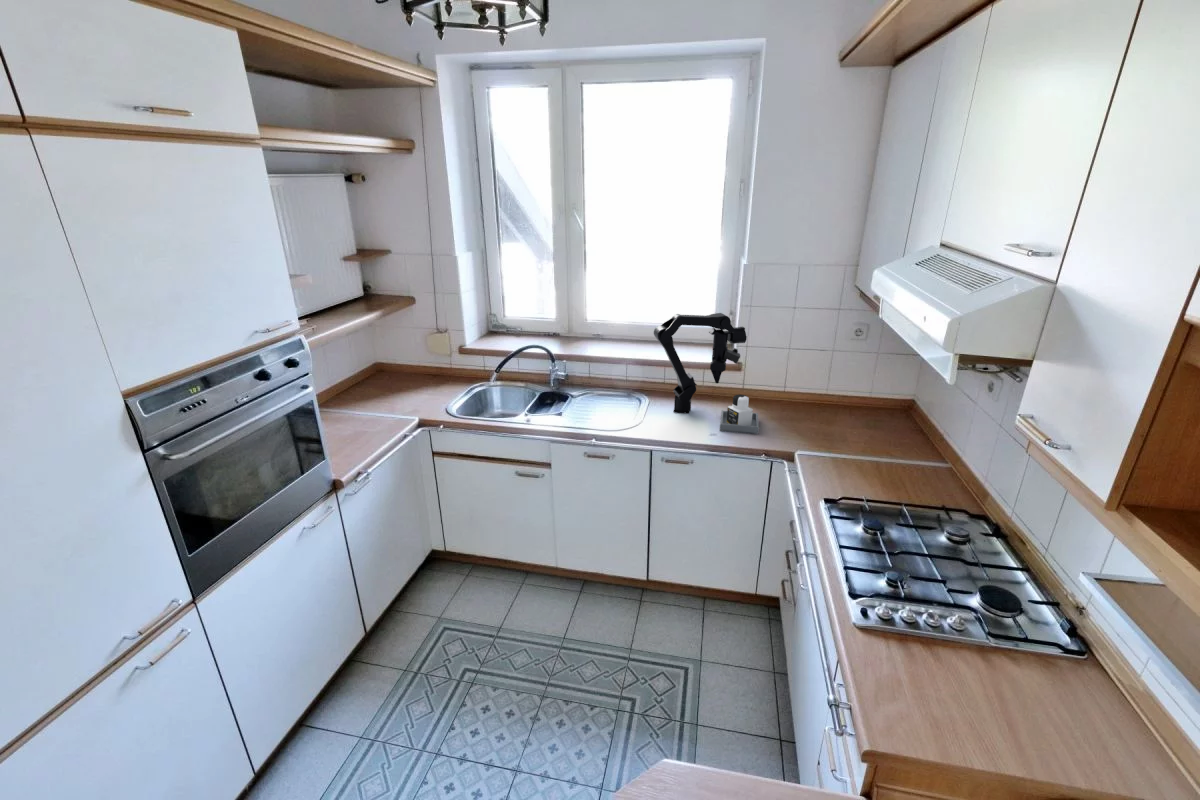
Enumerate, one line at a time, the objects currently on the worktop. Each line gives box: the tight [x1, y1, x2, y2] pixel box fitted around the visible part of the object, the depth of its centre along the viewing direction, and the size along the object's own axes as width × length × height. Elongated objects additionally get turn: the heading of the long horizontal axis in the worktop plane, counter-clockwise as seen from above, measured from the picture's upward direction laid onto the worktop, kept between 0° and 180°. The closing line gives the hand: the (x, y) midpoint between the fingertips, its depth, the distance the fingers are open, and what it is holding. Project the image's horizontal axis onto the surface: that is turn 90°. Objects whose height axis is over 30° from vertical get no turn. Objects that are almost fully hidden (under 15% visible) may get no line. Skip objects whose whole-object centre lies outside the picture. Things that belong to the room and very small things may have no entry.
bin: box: [719, 409, 760, 435], centre depth 225 cm, size 15×15×3 cm
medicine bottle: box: [726, 394, 754, 426], centre depth 223 cm, size 7×7×12 cm
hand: (717, 379), depth 239 cm, fingers open, 9 cm apart
